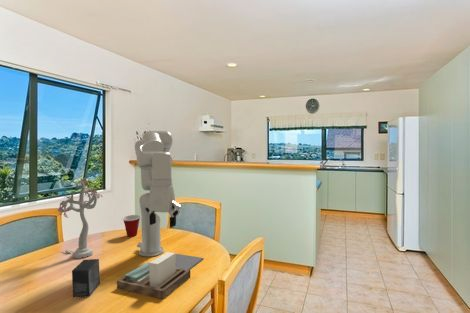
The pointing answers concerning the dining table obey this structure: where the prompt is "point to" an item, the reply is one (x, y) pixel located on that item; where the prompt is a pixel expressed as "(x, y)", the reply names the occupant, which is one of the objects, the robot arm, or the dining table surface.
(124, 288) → the walnut rack
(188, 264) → the rubber mat
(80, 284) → the small box
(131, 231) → the plastic cup
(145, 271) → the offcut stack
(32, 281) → the dining table surface
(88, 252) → the tree sculpture
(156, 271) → the white rectangular block
